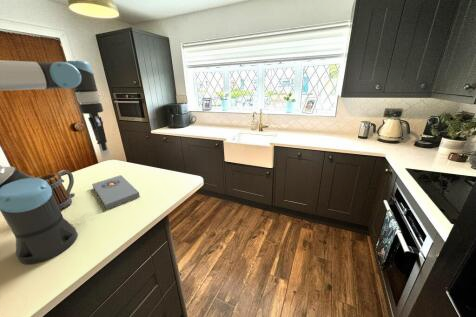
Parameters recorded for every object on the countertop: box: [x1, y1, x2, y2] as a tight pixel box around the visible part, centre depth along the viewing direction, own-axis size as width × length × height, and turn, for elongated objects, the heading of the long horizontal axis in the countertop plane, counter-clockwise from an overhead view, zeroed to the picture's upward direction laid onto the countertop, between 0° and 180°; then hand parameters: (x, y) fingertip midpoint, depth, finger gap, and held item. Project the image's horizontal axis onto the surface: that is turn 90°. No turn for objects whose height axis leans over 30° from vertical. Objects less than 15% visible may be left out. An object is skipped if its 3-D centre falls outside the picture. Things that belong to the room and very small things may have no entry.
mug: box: [36, 169, 76, 212], centre depth 89 cm, size 16×11×15 cm
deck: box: [91, 175, 141, 211], centre depth 99 cm, size 28×14×2 cm, turn 45°
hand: (106, 156), depth 89 cm, fingers closed
